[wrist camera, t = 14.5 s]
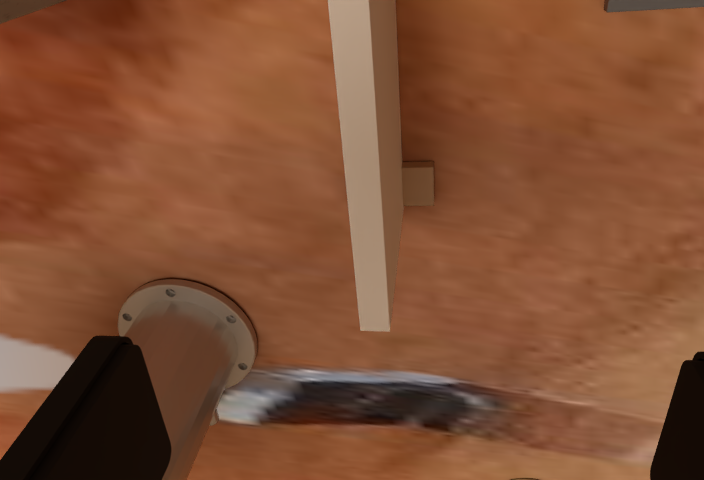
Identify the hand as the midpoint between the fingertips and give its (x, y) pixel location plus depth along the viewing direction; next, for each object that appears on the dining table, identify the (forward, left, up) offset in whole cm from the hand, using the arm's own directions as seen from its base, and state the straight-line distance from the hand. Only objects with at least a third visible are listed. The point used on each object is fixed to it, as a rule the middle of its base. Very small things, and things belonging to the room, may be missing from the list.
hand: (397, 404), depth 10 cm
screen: (-2, +3, -31) cm, 31 cm away
